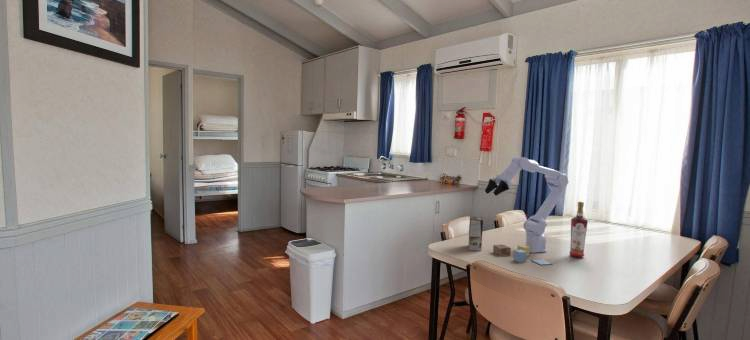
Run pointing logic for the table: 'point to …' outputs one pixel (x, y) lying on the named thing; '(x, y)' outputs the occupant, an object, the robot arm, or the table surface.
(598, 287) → the table surface
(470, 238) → the coffee box
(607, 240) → the table surface
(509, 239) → the table surface
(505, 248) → the walnut block
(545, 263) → the tile
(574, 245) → the liquor
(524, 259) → the blue block
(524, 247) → the ochre block
